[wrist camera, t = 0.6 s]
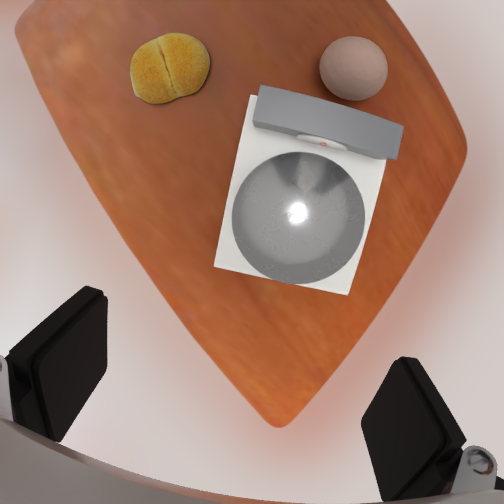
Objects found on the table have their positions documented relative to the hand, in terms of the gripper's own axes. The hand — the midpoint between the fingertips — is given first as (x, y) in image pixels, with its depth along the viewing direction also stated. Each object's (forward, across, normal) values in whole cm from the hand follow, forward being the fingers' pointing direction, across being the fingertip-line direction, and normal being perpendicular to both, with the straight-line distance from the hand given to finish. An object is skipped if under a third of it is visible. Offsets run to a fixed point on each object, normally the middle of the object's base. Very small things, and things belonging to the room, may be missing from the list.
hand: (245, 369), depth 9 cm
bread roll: (+28, +14, -14) cm, 34 cm away
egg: (+28, -5, -17) cm, 33 cm away
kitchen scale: (+27, -4, -3) cm, 28 cm away
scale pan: (+22, -4, -1) cm, 22 cm away
